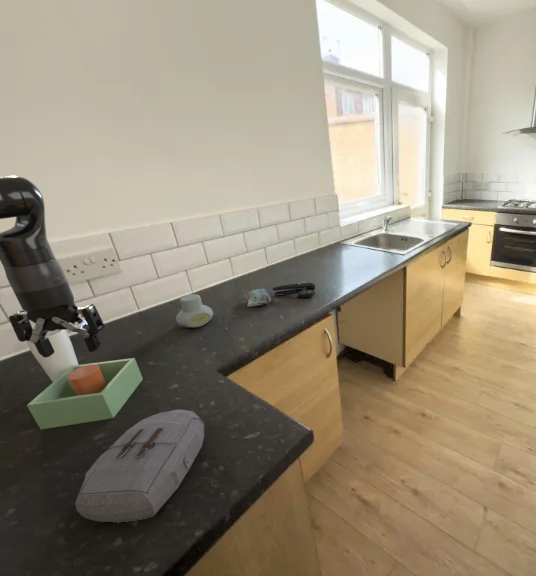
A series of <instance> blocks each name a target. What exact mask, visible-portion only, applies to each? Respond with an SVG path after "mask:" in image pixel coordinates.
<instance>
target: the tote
mask: <svg viewBox="0 0 536 576" xmlns="http://www.w3.org/2000/svg"><path fill="white" fill-rule="evenodd" d="M87 365H98V366H99V368H100V370H101V372H102V374H103V376H104V379H105V381H106V383H107V386H106V387H105V388H104V389H103V391H102V392H101V393H94V394H87V395H81V396H76V395H75V393H74V391H73V389H72V387H71V385H70V383H69V381H68V379H67V376H68V374H69V373H71V372H72V371H74V370H76V369H78V368H80V367H83V366H87ZM143 380H144V377H143V376H142V373H141V371H140V368H139V365H138V363H137V360H136V358H135V357H132V358H124V359H123V358H122V359H116V360H107V361H100V362H93V363H92V362H91V363H85V364H79V365H76V366H71V367H70V368H69V369H68V370H67V371H66V372H64V373H63V374H62V375H61V376H60V377H59V378H58V379H56V380H55V381H54V382H52V383H50V384H49V385H48V386H47V387H46V388H45V389H44V390H43V391H41V392H40V393H39V394H38V395H36V397H35V398H33V399H32V400H31V401H30V402H29V403H28V404H27V405H26V407H27V409H28V410H29V412H30V414H31V415H32V417H33V419H34V421H35V423H36V424H37V426H38V427H39V429H40V430H47V429H53V428H60V427H66V426H72V425H78V424H86V423H91V422H98V421H105V420H110V419H114V418H115V417H116V416H117V414H118V413H119V412H120V411H121V409H123V406H125V404H126V402H127V401H128V400H129V398H130V397H131V396H132V394H133V393H134V392H135V390H136V389H137V388H138V386H139V385H140V384H141V383H142V381H143Z"/></svg>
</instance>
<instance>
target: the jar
mask: <svg viewBox="0 0 536 576" xmlns="http://www.w3.org/2000/svg"><path fill="white" fill-rule="evenodd" d="M67 379H68V381H69V383H70V385H71V387H72V389H73V391H74V393H75V395H76V396H81V395H87V394H94V393H101V392H102V391H103V389H104V388H105V387H106V386H107V383H106V381H105V379H104V376H103V374H102V372H101V370H100V368H99V366H98V365H87V366H83V367H80V368H78V369H76V370H74V371H72V372H71V373H69V374H68V376H67Z"/></svg>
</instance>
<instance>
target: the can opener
mask: <svg viewBox="0 0 536 576" xmlns="http://www.w3.org/2000/svg"><path fill="white" fill-rule="evenodd" d="M315 290H316V285H315V283H313V282H309V281H306V282H299V281H298V282H297V283H288V284H282V285H281V284H280V285H277V286H274V287H272V291H274V293H275V294H289V295H294V294H297V298H299V297H309V298H313V296H314V295H315V294H316V291H315Z"/></svg>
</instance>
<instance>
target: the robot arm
mask: <svg viewBox="0 0 536 576" xmlns="http://www.w3.org/2000/svg"><path fill="white" fill-rule="evenodd" d="M11 218H15V222H14V225H13V227H11V228H10V229H7V230H4V231H1V232H0V263H1V265H2V267H3V269H4V273H5V277H6V279H7V281H8V283H9V286H10V287H11V289H12V291H13V293H14V296H15V297H16V300H17V302H18V304H19V305H20V307H21V310H19V311H16V312H15V313H12V314H11V315H9V316H8V320H9V322H10V324H11V327H12V328H13V329H12V330H13V331H14V333H15V335H16V338H17V340H18V341H19V342H21V343H24V342H27V341H30V342H31V343H34V344H35V346H36V348H37V350H38V352H39V354H40V355H42V356H43V357H49V356H51V355H52V354H53V353H54V349H53V347H52V345H51V343H50V341H49V339H48V338H45V336H46V334H47V332H48V331H54V330H66V331H67V330H68V331H70V332H72V333H77V334H79V335H80V336H82V337H83V340H84V343H85V345H86V348H87V350H88V352H89V353H93V352H96V351H97V350H98V349H99V348H100V346H101V342H100V339H99V336H98V335H97V334H98V333H100V332H101V331H102V330H103V329H105V328H106V325H105V323H104V322H103V320H102V318H101V315H100V313H99V311H98V309H97V307H96V305H95V304H93V303H89V304H88V305H87V306H81V307H78V305H77V304H75V296H74V293H73V291H72V290H71V287H70V285H69V283H68V279H67V278H66V275H65V274H64V271H63V269H62V266H61V265H60V263H59V262H58V260H57V258H56V256H55V254H54V251H53V249H52V246H51V245H50V242H49V240H48V237H47V225H46V207H45V199H44V197H43V194H42V192H41V190H40V189H39V188H38V187H37V185H36V184H35V183H33V182H32V181H30V180H29V179H28V178H25V177H22V176H16V175H9V176H8V175H6V176H0V220H4V219H11ZM80 315H81V316H80ZM31 322H32V323H33V324H35V325H34V327H32V324H31ZM76 323H77V324H76Z"/></svg>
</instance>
